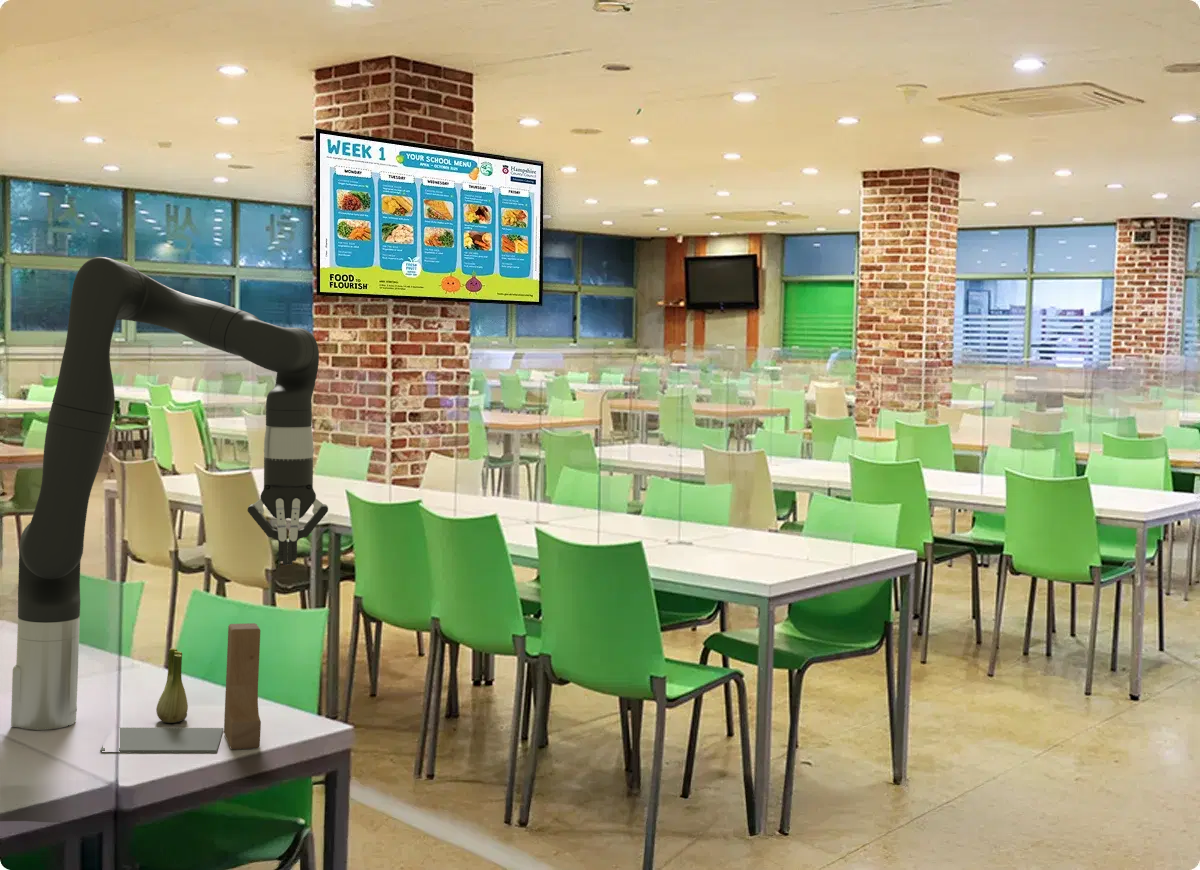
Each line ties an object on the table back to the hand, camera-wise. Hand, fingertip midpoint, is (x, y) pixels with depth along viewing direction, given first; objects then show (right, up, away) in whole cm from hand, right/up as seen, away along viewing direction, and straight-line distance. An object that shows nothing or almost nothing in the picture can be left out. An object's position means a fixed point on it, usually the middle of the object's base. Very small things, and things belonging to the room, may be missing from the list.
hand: (287, 563), depth 213 cm
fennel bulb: (-21, -27, +9) cm, 35 cm away
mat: (-19, -28, -2) cm, 33 cm away
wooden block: (-7, -28, 0) cm, 29 cm away
